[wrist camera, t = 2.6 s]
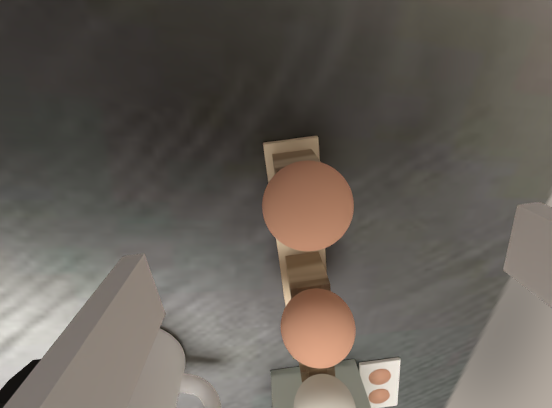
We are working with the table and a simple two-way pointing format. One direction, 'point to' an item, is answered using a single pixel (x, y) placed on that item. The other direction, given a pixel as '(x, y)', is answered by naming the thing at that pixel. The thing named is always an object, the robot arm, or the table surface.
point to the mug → (169, 378)
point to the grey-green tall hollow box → (290, 381)
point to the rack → (293, 263)
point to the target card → (381, 381)
